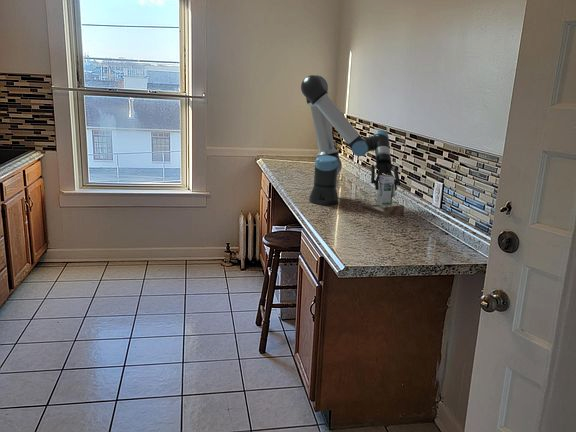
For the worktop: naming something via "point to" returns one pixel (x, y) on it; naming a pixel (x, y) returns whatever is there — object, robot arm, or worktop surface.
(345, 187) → the worktop surface
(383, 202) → the syrup box
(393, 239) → the worktop surface
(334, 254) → the worktop surface
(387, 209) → the walnut stand board
